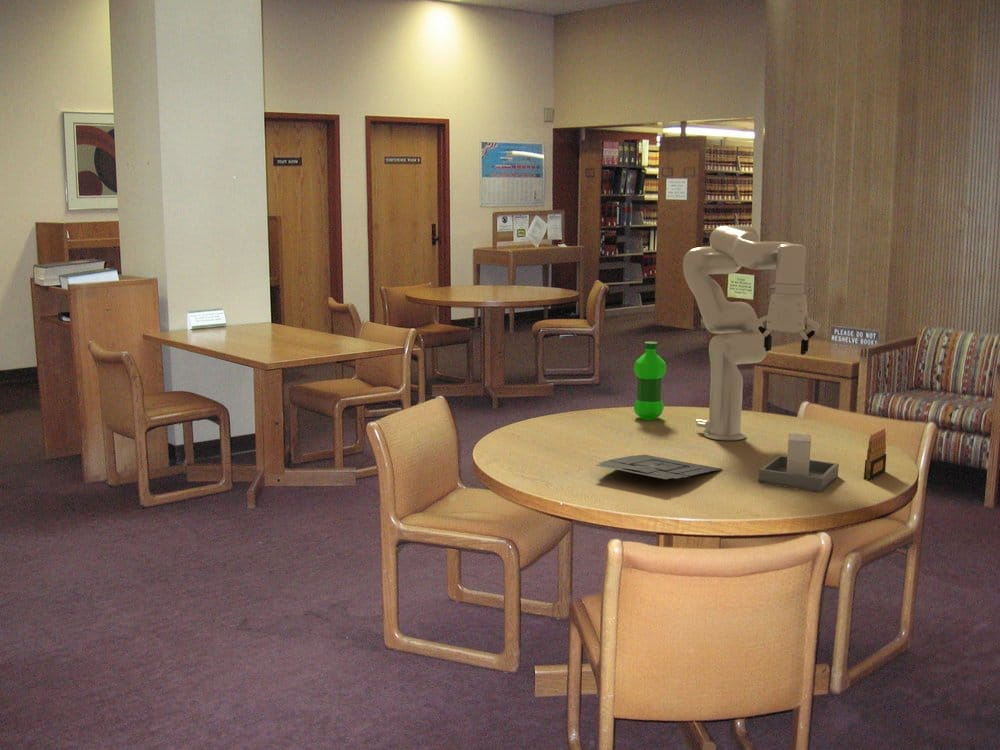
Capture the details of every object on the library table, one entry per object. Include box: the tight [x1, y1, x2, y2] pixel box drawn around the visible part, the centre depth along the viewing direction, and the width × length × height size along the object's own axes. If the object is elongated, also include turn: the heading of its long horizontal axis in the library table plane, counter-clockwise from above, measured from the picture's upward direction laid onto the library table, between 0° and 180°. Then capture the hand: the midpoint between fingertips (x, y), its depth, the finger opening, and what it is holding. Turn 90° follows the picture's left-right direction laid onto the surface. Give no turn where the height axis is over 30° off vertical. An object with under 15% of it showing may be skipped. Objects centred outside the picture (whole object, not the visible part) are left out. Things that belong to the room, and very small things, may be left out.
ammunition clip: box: [863, 428, 887, 481], centre depth 273 cm, size 11×2×12 cm, turn 140°
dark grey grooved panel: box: [595, 454, 722, 480], centre depth 273 cm, size 24×30×4 cm
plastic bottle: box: [633, 341, 667, 421], centre depth 336 cm, size 10×10×25 cm
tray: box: [758, 454, 840, 493], centre depth 269 cm, size 16×17×4 cm
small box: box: [786, 432, 812, 476], centre depth 269 cm, size 8×6×10 cm
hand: (785, 352), depth 284 cm, fingers open, 9 cm apart
